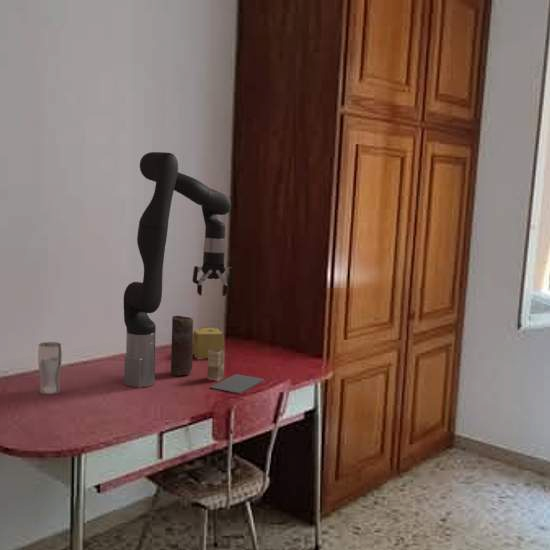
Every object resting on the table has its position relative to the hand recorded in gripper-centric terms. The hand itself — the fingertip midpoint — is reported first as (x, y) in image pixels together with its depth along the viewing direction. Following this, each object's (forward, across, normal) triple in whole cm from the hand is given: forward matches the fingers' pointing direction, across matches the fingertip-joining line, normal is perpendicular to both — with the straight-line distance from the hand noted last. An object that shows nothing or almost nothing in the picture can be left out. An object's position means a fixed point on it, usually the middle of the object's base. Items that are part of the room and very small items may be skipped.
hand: (211, 295), depth 257 cm
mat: (+26, +6, -25) cm, 36 cm away
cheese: (+26, +1, +12) cm, 28 cm away
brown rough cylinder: (+26, -11, -11) cm, 30 cm away
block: (+26, 0, -19) cm, 32 cm away
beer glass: (+27, -54, -27) cm, 66 cm away
